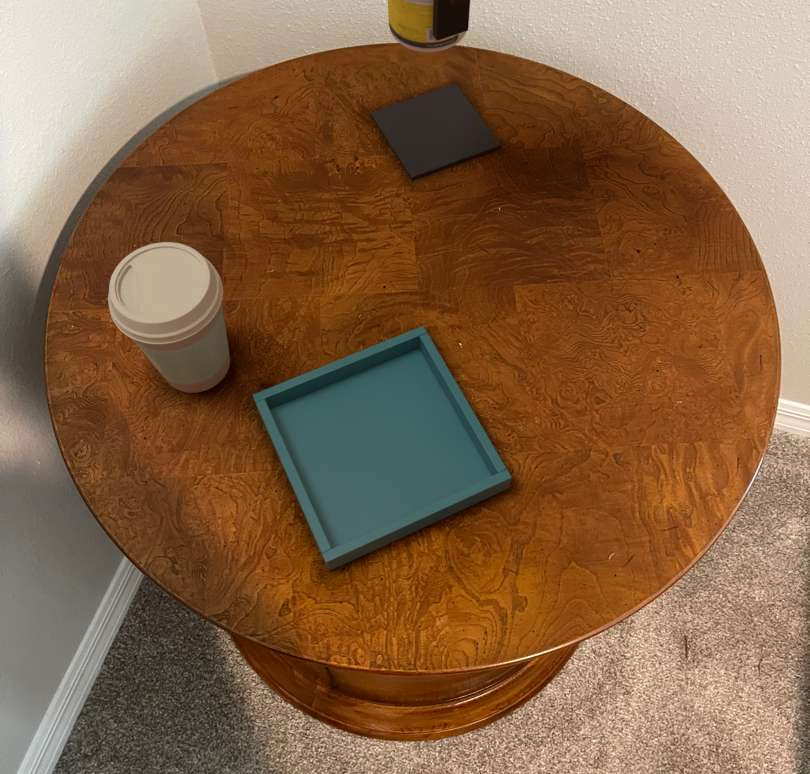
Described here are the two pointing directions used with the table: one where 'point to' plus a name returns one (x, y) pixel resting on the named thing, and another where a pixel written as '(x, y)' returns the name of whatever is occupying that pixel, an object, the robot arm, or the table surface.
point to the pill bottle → (417, 26)
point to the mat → (434, 131)
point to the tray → (379, 446)
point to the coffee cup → (173, 313)
